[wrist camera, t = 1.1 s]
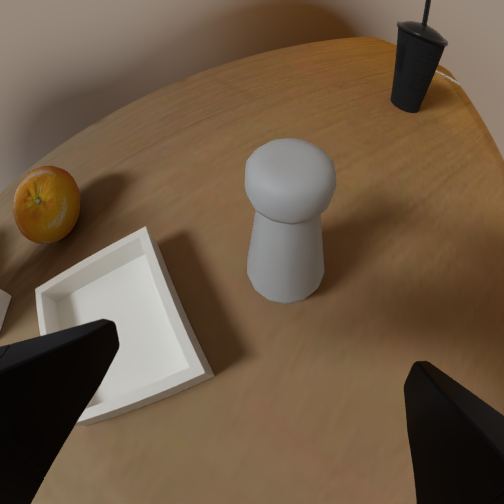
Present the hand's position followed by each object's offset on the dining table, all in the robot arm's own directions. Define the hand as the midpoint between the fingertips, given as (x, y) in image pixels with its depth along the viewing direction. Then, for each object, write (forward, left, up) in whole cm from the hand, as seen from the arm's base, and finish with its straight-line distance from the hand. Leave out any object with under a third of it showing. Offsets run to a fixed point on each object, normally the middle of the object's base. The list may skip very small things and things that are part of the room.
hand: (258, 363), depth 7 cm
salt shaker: (+7, -5, -14) cm, 16 cm away
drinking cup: (+22, -37, -14) cm, 45 cm away
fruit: (+25, +14, -14) cm, 32 cm away
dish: (+9, +10, -14) cm, 19 cm away
